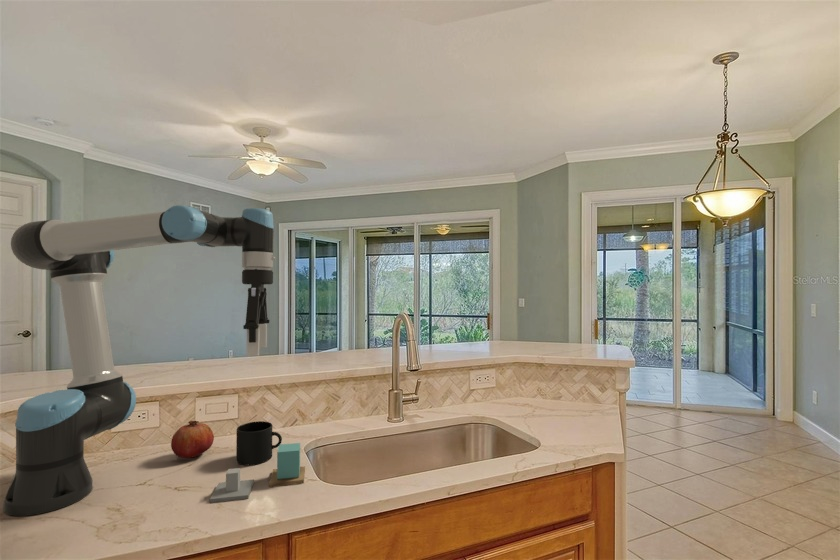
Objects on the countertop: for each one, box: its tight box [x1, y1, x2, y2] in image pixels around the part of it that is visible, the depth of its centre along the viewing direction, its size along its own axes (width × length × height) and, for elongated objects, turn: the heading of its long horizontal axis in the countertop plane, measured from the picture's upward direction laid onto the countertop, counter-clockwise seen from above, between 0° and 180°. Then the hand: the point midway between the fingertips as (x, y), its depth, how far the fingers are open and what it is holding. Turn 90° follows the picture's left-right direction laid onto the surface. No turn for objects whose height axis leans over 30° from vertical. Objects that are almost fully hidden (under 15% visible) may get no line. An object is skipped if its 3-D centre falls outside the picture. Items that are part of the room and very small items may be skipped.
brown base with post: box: [268, 466, 306, 488], centre depth 107 cm, size 8×8×7 cm
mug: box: [235, 420, 283, 466], centre depth 119 cm, size 9×12×9 cm
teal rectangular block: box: [276, 442, 301, 479], centre depth 107 cm, size 5×5×7 cm
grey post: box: [209, 467, 255, 504], centre depth 99 cm, size 8×8×5 cm
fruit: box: [170, 420, 215, 459], centre depth 120 cm, size 11×10×10 cm
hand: (257, 351), depth 108 cm, fingers open, 13 cm apart
